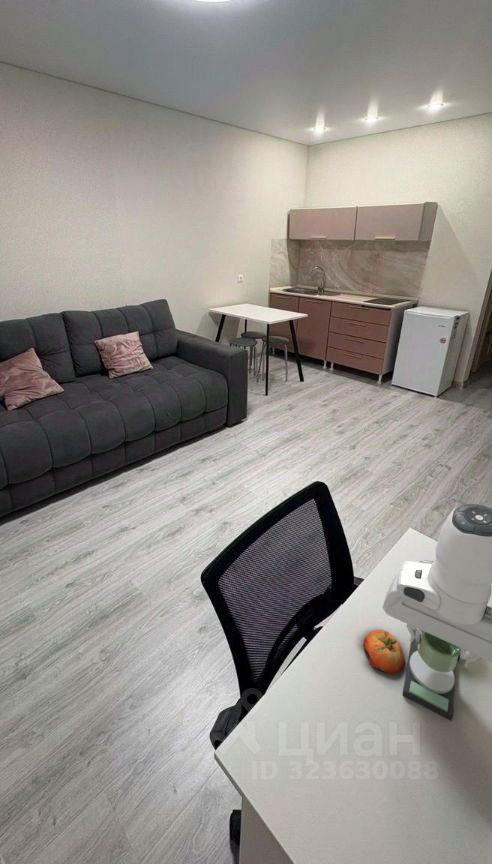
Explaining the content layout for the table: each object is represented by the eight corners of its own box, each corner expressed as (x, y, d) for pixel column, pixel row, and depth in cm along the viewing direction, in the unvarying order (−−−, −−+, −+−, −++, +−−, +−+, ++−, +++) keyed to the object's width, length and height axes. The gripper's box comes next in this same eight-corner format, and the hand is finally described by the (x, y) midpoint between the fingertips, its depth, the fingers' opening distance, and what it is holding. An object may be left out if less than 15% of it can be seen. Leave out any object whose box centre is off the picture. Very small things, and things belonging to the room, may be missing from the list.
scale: (410, 644, 82) (413, 632, 81) (453, 664, 78) (457, 652, 77) (401, 699, 72) (404, 687, 71) (449, 725, 69) (454, 713, 68)
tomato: (399, 686, 73) (380, 644, 75) (367, 684, 78) (349, 644, 79) (415, 660, 79) (397, 621, 80) (384, 659, 83) (367, 623, 85)
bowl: (430, 634, 77) (435, 617, 75) (462, 663, 72) (468, 646, 70) (409, 650, 74) (414, 633, 72) (442, 681, 69) (447, 664, 67)
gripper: (529, 609, 65) (505, 667, 70) (394, 556, 75) (382, 611, 80) (533, 641, 60) (507, 700, 65) (388, 580, 70) (375, 636, 75)
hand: (437, 650), depth 72 cm, fingers closed on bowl, 6 cm apart
